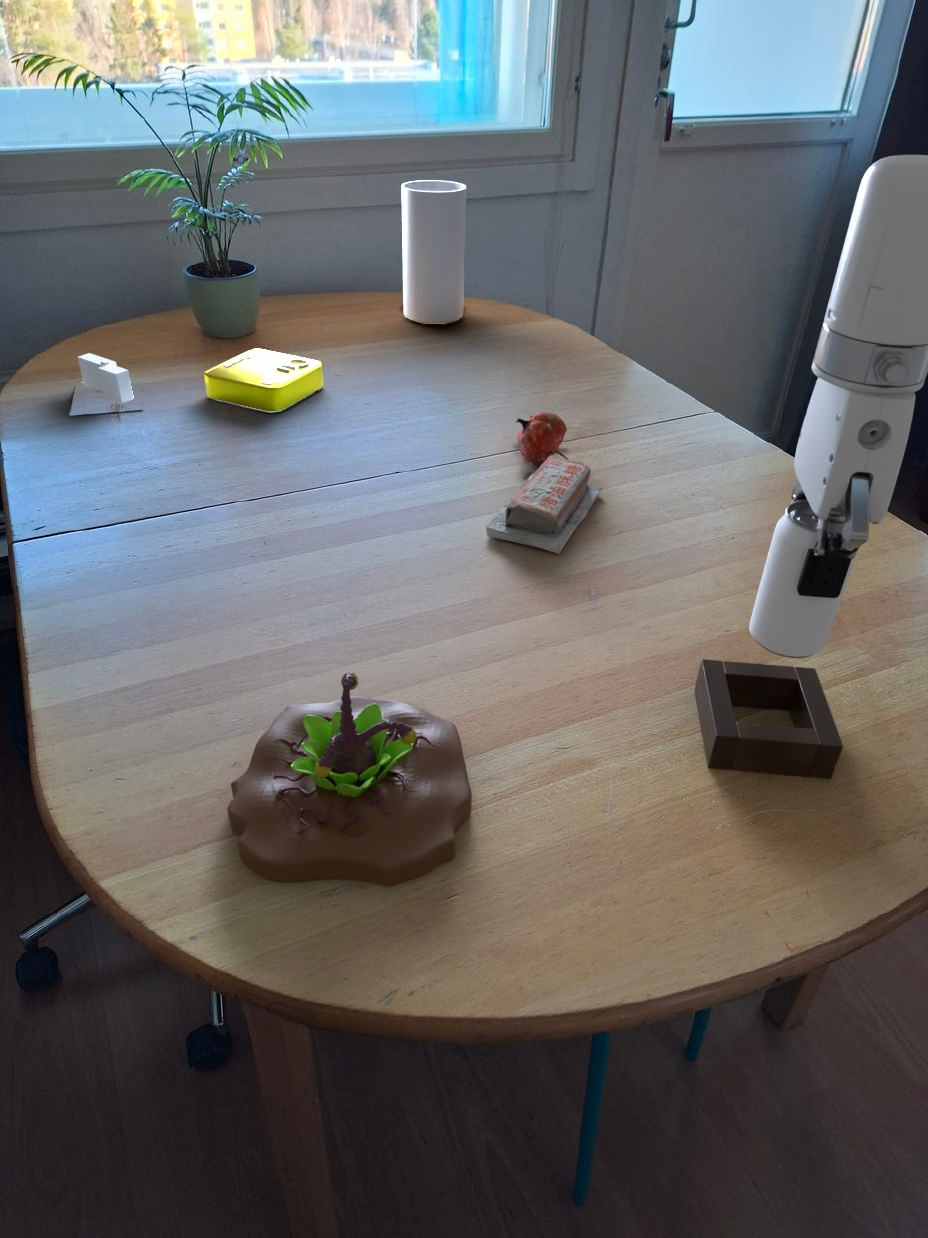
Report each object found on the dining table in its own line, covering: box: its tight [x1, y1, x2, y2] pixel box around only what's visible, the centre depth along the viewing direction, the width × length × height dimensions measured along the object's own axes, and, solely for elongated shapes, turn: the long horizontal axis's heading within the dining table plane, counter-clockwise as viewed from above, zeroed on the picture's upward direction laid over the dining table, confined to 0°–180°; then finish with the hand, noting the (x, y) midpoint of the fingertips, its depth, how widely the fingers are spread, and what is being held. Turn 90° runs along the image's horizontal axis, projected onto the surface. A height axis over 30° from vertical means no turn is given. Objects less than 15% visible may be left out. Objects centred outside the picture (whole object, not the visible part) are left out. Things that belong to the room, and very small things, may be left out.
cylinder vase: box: [401, 179, 467, 323], centre depth 176 cm, size 12×12×25 cm
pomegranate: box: [515, 411, 570, 465], centre depth 127 cm, size 7×7×10 cm
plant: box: [227, 672, 473, 886], centre depth 71 cm, size 20×20×11 cm
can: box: [748, 500, 858, 659], centre depth 72 cm, size 6×6×12 cm
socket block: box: [694, 658, 844, 780], centre depth 81 cm, size 11×11×4 cm
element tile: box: [203, 348, 325, 411], centre depth 146 cm, size 15×15×5 cm
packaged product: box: [485, 456, 603, 555], centre depth 113 cm, size 18×5×10 cm
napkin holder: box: [77, 352, 134, 403], centre depth 142 cm, size 15×11×6 cm
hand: (807, 568), depth 72 cm, fingers closed on can, 6 cm apart
